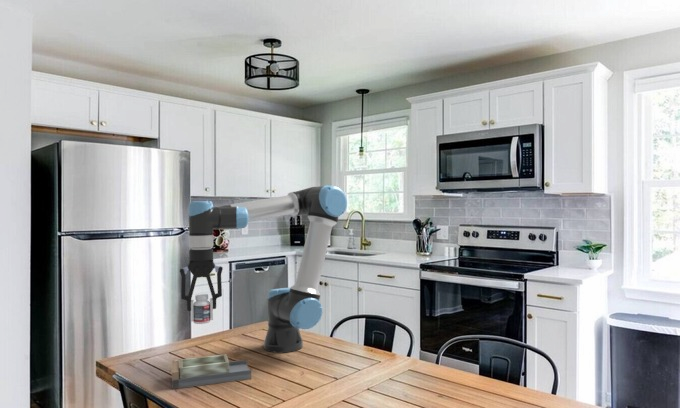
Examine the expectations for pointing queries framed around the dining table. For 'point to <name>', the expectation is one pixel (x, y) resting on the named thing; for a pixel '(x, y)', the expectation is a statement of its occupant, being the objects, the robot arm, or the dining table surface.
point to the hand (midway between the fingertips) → (202, 319)
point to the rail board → (236, 372)
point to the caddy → (204, 366)
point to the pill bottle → (201, 309)
